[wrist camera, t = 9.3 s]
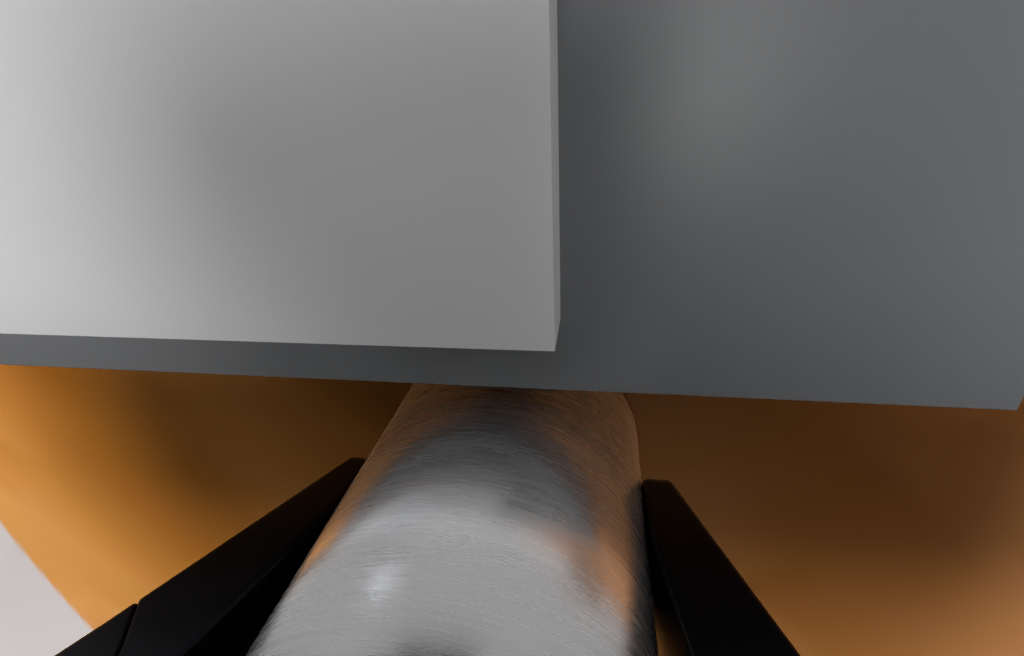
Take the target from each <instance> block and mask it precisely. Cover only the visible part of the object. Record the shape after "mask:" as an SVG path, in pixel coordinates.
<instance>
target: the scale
mask: <svg viewBox="0 0 1024 656" xmlns="http://www.w3.org/2000/svg"><path fill="white" fill-rule="evenodd" d="M0 364H5V365H27V366H50V367H72V368H94V369H116V370H138V371H160V372H182V373H204V374H226V375H249V376H271V377H293V378H315V379H337V380H359V381H381V382H403V383H426V384H448V385H470V386H492V387H514V388H536V389H558V390H580V391H602V392H625V393H647V394H669V395H691V396H713V397H735V398H757V399H779V400H801V401H824V402H846V403H868V404H890V405H912V406H934V407H956V408H978V409H1001V410H1017V409H1018V407H1019V405H1020V403H1021V401H1022V399H1023V397H1024V0H0Z"/></svg>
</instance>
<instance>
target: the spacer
mask: <svg viewBox="0 0 1024 656" xmlns="http://www.w3.org/2000/svg"><path fill="white" fill-rule="evenodd" d="M245 656H658V645H657V635H656V625H655V615H654V604H653V594H652V584H651V573H650V563H649V554H648V543H647V533H646V523H645V513H644V502H643V492H642V481H641V470H640V460H639V450H638V440H637V431H636V426H635V420H634V418H633V415H632V412H631V409H630V407H629V405H628V403H627V401H626V399H625V397H624V395H623V394H622V393H621V392H602V391H580V390H558V389H536V388H514V387H492V386H470V385H448V384H426V383H413V385H412V387H411V388H410V390H409V391H408V393H407V395H406V396H405V398H404V400H403V401H402V403H401V404H400V406H399V408H398V409H397V411H396V413H395V414H394V416H393V417H392V419H391V421H390V422H389V424H388V425H387V427H386V429H385V430H384V432H383V434H382V435H381V437H380V438H379V440H378V442H377V443H376V445H375V447H374V448H373V450H372V451H371V453H370V455H369V456H368V458H367V459H366V461H365V463H364V464H363V466H362V468H361V469H360V471H359V472H358V474H357V476H356V477H355V479H354V481H353V482H352V484H351V485H350V487H349V489H348V490H347V492H346V494H345V495H344V497H343V498H342V500H341V502H340V503H339V505H338V506H337V508H336V510H335V511H334V513H333V515H332V516H331V518H330V519H329V521H328V523H327V524H326V526H325V528H324V529H323V531H322V532H321V534H320V536H319V537H318V539H317V540H316V542H315V544H314V545H313V547H312V549H311V550H310V552H309V553H308V555H307V557H306V558H305V560H304V562H303V563H302V565H301V566H300V568H299V570H298V571H297V573H296V575H295V576H294V578H293V579H292V581H291V583H290V584H289V586H288V587H287V589H286V591H285V592H284V594H283V596H282V597H281V599H280V600H279V602H278V604H277V605H276V607H275V609H274V610H273V612H272V613H271V615H270V617H269V618H268V620H267V621H266V623H265V625H264V626H263V628H262V630H261V631H260V633H259V634H258V636H257V638H256V639H255V641H254V643H253V644H252V646H251V647H250V649H249V651H248V652H247V654H246V655H245Z"/></svg>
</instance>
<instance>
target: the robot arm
mask: <svg viewBox="0 0 1024 656" xmlns="http://www.w3.org/2000/svg"><path fill="white" fill-rule="evenodd" d="M366 459H367V458H361V457H353V458H350V459H348V460H347V461H345V462H344V463H342V464H341V465H339V466H338V467H336V468H335V469H333V470H332V471H330V472H329V473H327V474H326V475H324V476H323V477H321V478H320V479H318V480H317V481H315V482H314V483H313V484H311V485H310V486H308V487H307V488H305V489H304V490H302V491H301V492H299V493H298V494H296V495H295V496H293V497H292V498H290V499H289V500H287V501H286V502H284V503H283V504H281V505H280V506H278V507H277V508H275V509H274V510H272V511H271V512H269V513H268V514H266V515H265V516H263V517H262V518H260V519H259V520H258V521H256V522H255V523H253V524H252V525H250V526H249V527H247V528H246V529H244V530H243V531H241V532H240V533H238V534H237V535H235V536H234V537H232V538H231V539H229V540H228V541H226V542H225V543H223V544H222V545H220V546H219V547H217V548H216V549H214V550H213V551H211V552H210V553H208V554H207V555H205V556H204V557H202V558H201V559H200V560H198V561H197V562H195V563H194V564H192V565H191V566H189V567H188V568H186V569H185V570H183V571H182V572H180V573H179V574H177V575H176V576H174V577H173V578H171V579H170V580H168V581H167V582H165V583H164V584H162V585H161V586H159V587H158V588H156V589H155V590H153V591H152V592H150V593H149V594H147V595H146V596H144V597H143V598H142V599H140V601H139V603H138V604H132V605H131V606H129V607H128V608H126V609H125V610H123V611H122V612H120V613H119V614H117V615H116V616H114V617H113V618H112V619H110V620H109V621H107V622H106V623H104V624H103V625H101V626H99V627H98V628H96V629H95V630H93V631H92V632H90V633H89V634H87V635H86V636H84V637H83V638H81V639H80V640H78V641H76V642H75V643H73V644H72V645H71V646H69V647H68V648H66V649H64V650H63V651H61V652H60V653H58V654H57V655H55V656H245V655H246V654H247V652H248V651H249V649H250V647H251V646H252V644H253V643H254V641H255V639H256V638H257V636H258V634H259V633H260V631H261V630H262V628H263V626H264V625H265V623H266V621H267V620H268V618H269V617H270V615H271V613H272V612H273V610H274V609H275V607H276V605H277V604H278V602H279V600H280V599H281V597H282V596H283V594H284V592H285V591H286V589H287V587H288V586H289V584H290V583H291V581H292V579H293V578H294V576H295V575H296V573H297V571H298V570H299V568H300V566H301V565H302V563H303V562H304V560H305V558H306V557H307V555H308V553H309V552H310V550H311V549H312V547H313V545H314V544H315V542H316V540H317V539H318V537H319V536H320V534H321V532H322V531H323V529H324V528H325V526H326V524H327V523H328V521H329V519H330V518H331V516H332V515H333V513H334V511H335V510H336V508H337V506H338V505H339V503H340V502H341V500H342V498H343V497H344V495H345V494H346V492H347V490H348V489H349V487H350V485H351V484H352V482H353V481H354V479H355V477H356V476H357V474H358V472H359V471H360V469H361V468H362V466H363V464H364V463H365V461H366ZM642 492H643V502H644V513H645V523H646V533H647V543H648V554H649V563H650V573H651V584H652V594H653V604H654V615H655V625H656V635H657V645H658V656H800V654H799V653H798V652H797V650H796V649H795V648H794V646H793V645H792V644H791V642H790V641H789V640H788V638H787V637H786V636H785V634H784V633H783V632H782V630H781V629H780V628H779V626H778V625H777V624H776V622H775V621H774V620H773V618H772V617H771V616H770V614H769V613H768V611H767V610H766V609H765V607H764V606H763V605H762V603H761V602H760V601H759V599H758V598H757V597H756V595H755V594H754V593H753V591H752V590H751V589H750V587H749V586H748V585H747V583H746V582H745V581H744V579H743V578H742V577H741V575H740V574H739V573H738V571H737V570H736V568H735V567H734V566H733V564H732V563H731V562H730V560H729V559H728V558H727V556H726V555H725V554H724V552H723V551H722V550H721V548H720V547H719V546H718V544H717V543H716V542H715V540H714V539H713V538H712V536H711V535H710V534H709V532H708V531H707V530H706V528H705V527H704V525H703V524H702V523H701V521H700V520H699V519H698V517H697V516H696V515H695V513H694V512H693V511H692V509H691V508H690V507H689V505H688V504H687V503H686V501H685V500H684V499H683V497H682V496H681V495H680V493H679V492H678V491H677V489H676V488H675V486H674V485H673V484H672V483H671V482H670V481H668V480H659V479H645V480H644V481H643V483H642Z"/></svg>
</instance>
